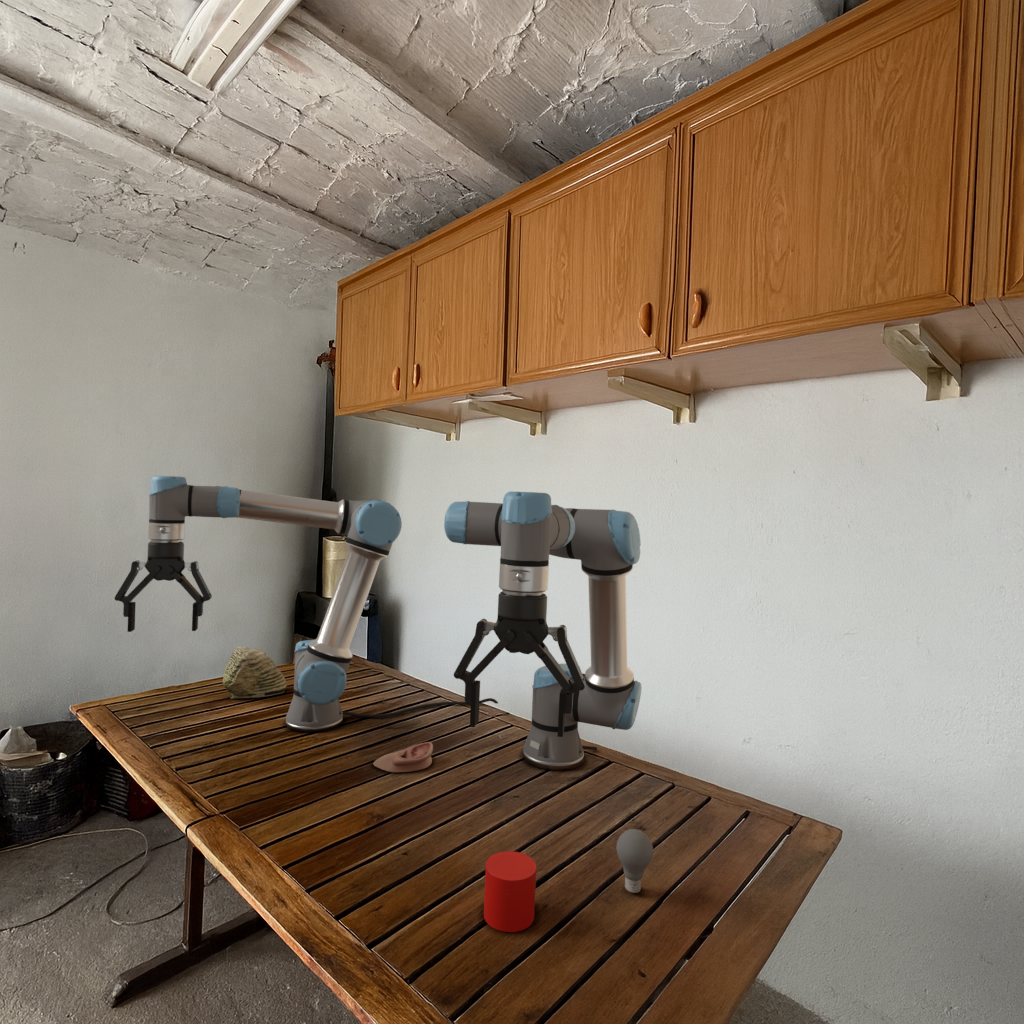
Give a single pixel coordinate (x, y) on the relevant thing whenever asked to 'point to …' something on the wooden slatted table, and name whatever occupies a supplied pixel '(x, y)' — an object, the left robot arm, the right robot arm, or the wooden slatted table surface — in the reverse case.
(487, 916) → the canister
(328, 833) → the wooden slatted table surface
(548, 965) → the wooden slatted table surface
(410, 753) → the anatomical model
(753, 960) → the wooden slatted table surface
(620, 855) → the light bulb
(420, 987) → the wooden slatted table surface
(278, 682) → the fossil
